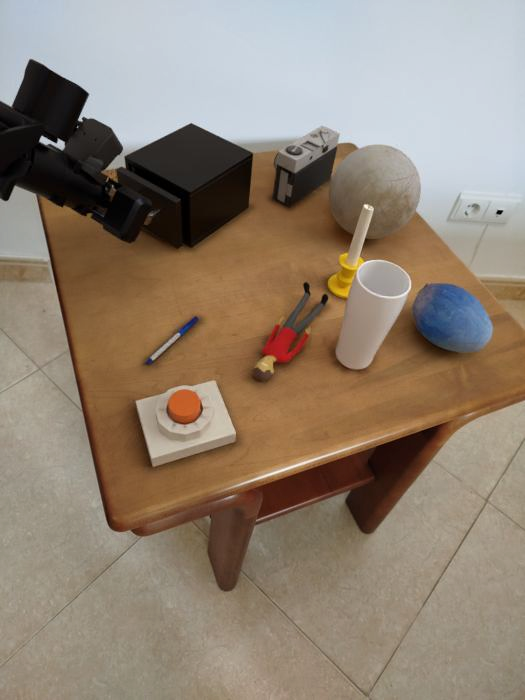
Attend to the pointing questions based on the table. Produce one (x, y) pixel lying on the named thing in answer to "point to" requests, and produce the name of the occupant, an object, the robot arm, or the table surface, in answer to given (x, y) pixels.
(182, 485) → the table surface
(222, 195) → the black cabinet
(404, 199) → the decorative sphere
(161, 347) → the ballpoint pen
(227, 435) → the button block
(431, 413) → the table surface
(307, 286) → the person figure
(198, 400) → the button
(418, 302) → the egg
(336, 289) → the candle
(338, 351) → the drinking glass
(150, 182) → the drawer
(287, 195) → the camera
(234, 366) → the table surface
